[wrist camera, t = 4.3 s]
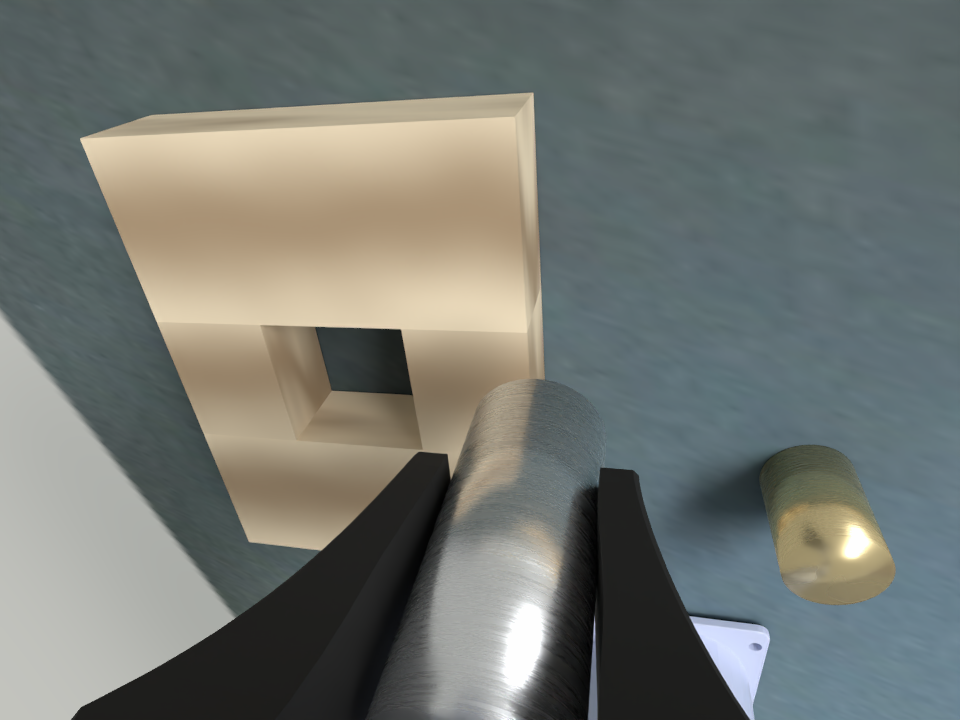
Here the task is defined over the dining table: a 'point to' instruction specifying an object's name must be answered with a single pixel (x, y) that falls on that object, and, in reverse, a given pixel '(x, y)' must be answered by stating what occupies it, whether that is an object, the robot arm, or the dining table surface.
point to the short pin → (824, 527)
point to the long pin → (507, 570)
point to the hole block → (332, 282)
